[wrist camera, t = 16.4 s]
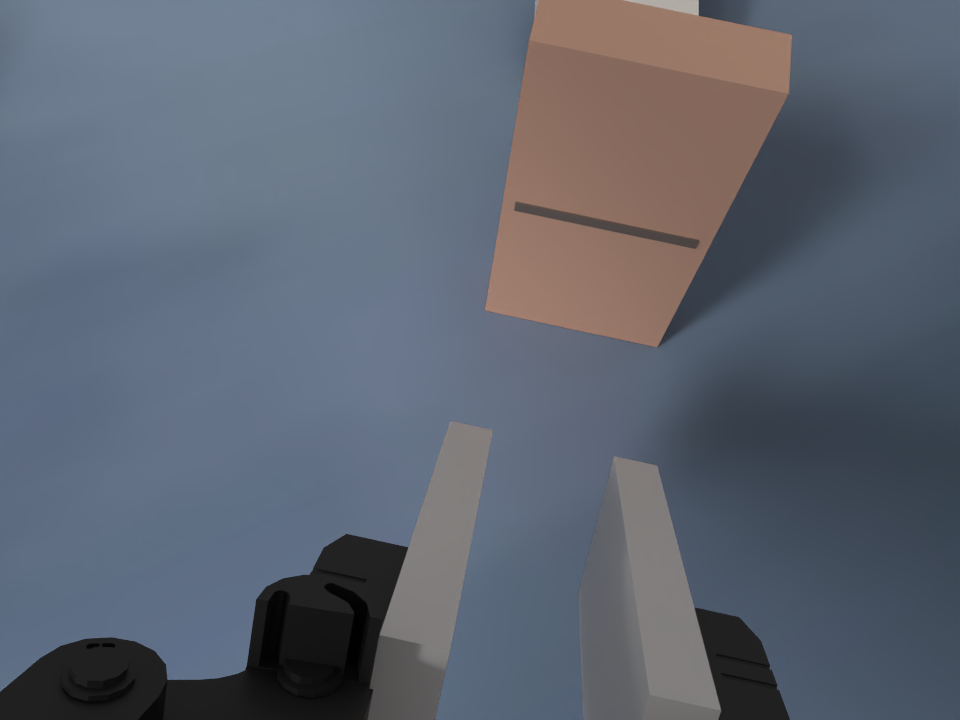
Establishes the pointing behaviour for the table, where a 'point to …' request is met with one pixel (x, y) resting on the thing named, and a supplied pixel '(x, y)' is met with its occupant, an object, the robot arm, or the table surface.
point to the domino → (627, 160)
